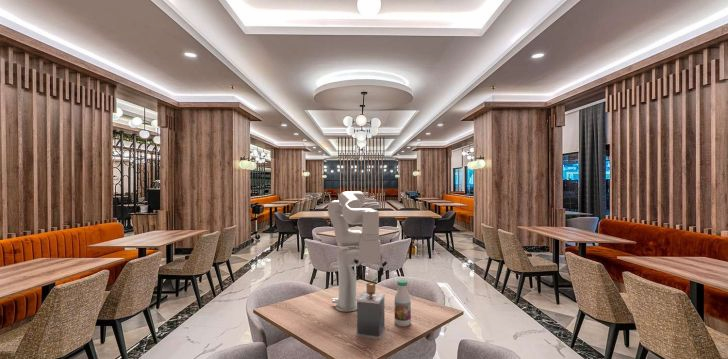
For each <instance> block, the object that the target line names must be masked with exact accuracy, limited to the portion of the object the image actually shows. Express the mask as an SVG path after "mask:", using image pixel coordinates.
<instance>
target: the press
mask: <svg viewBox="0 0 728 359" xmlns="http://www.w3.org/2000/svg"><path fill="white" fill-rule="evenodd" d="M385 296H386V293H381V292H375V294H373V295H372V297H370V295H369V294H367V291H362V292H361V294H359V296H358V297H356V303H357V310H356V337H361V338H367V339H373V340H374V339H375V340H380V339H381V337H382V336H383V334H384V332H385V330H386V326H385V318H386V317H385V315H386V314H385Z"/></svg>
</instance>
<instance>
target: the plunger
mask: <svg viewBox="0 0 728 359" xmlns="http://www.w3.org/2000/svg"><path fill="white" fill-rule="evenodd" d="M366 292H367V294H369V295H370V297H372V295H373V294H375V293H376V283H375V282H367V283H366Z"/></svg>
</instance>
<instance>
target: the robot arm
mask: <svg viewBox="0 0 728 359" xmlns="http://www.w3.org/2000/svg"><path fill="white" fill-rule="evenodd" d="M365 203H366V197H365V194H364V193H363V192H362V191H359V190H357V191H355V190H353V191H352V190H351V191H349V190H347V191H342V192H341V193H340V194H339V195H338V198H337V200H336V199H335V200H331V201H330V202H329V203H328V205H327V214H328V217H329V219H330V221H331V223H332V226H333V230H334V237H335V241H336V244H337V246H338V247H339V248H342V249H340V250H338V251H337V254H336V261H337V268H338V270H337V271H338V298H336V297H332V299H331V302H332V304H335V309H336V310H337V311H339V312H345V313H348V312H349V313H351V312H355V311H357V301H356V299H357V274H356V271H355V270H354V269H353V267H357V273H358V276H360V275H362V274H363V266H364V265H367V264H372V265H378V266H379V270H378V276H379V278H382V276H384V267H385V266H386V265H387V264H388V262H389V261H390V257H389V256H388V255H385V254H384V253H383V250H382V243H381V240H380V235H379V234H380V214H379V211H378V210H377V209H373V208H372V207H364V205H365ZM363 207H364V208H363ZM349 225H352V226H353V225H362V226H361V228H362V229H361V230H359V229H350V228H349V227H350V226H349ZM383 259H384V262H383V261H382V260H383Z"/></svg>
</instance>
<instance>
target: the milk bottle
mask: <svg viewBox="0 0 728 359" xmlns="http://www.w3.org/2000/svg"><path fill="white" fill-rule="evenodd" d="M396 290H397V291H396V293H395V295H394V324H395V325H396V326H398V327H409V326H410V325H411V322H412V309H411V308H412V307H411V302H412V301H411V296H410V293H409V291H408V281H407V280H405V279H404V280H403V279H399V280H398V281H397V289H396Z"/></svg>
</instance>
